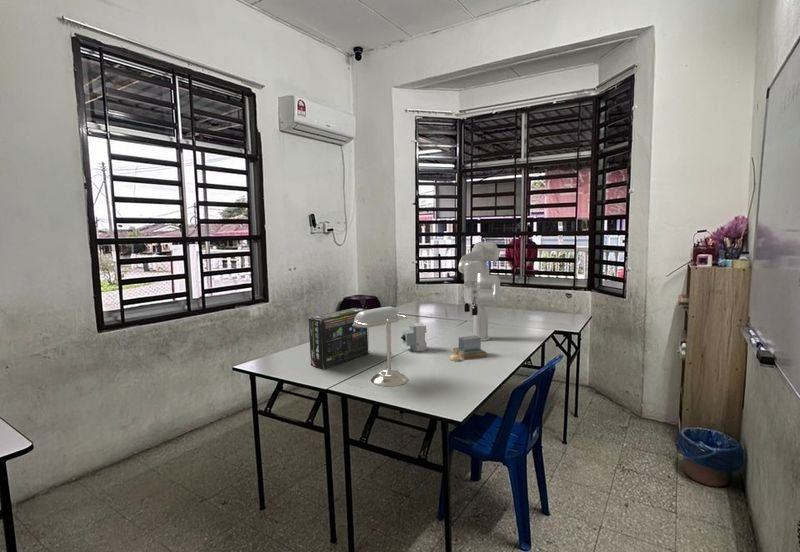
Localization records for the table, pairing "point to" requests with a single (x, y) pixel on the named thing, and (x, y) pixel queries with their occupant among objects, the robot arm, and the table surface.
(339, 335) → the router box
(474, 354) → the green board with frame
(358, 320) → the lamp
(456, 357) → the cream dome
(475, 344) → the block
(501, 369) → the table surface
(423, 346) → the circuit breaker
